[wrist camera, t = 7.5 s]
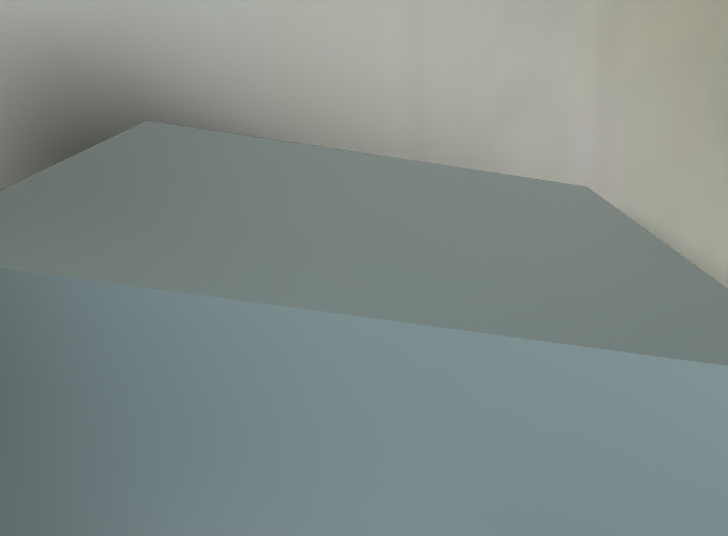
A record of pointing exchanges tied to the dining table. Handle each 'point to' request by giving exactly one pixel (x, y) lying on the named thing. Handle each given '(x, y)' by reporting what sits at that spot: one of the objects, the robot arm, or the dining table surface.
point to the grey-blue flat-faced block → (346, 351)
